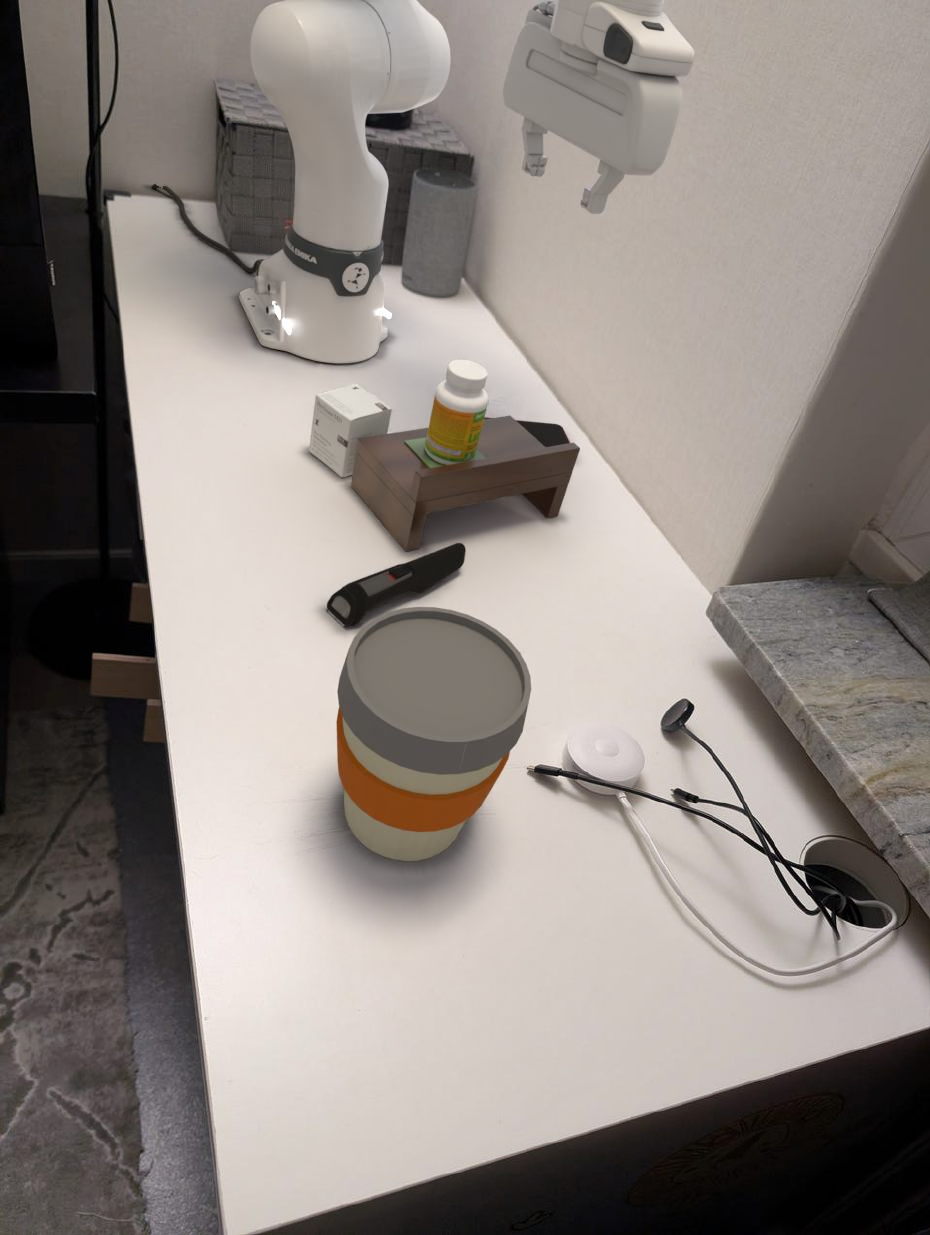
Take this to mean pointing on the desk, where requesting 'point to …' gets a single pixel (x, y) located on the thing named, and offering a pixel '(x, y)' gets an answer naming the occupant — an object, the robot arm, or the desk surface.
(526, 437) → the shelf
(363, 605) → the electric trimmer
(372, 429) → the product carton
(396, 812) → the reusable coffee cup
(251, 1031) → the desk surface
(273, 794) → the desk surface
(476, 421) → the supplement bottle
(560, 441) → the smartphone
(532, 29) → the robot arm
